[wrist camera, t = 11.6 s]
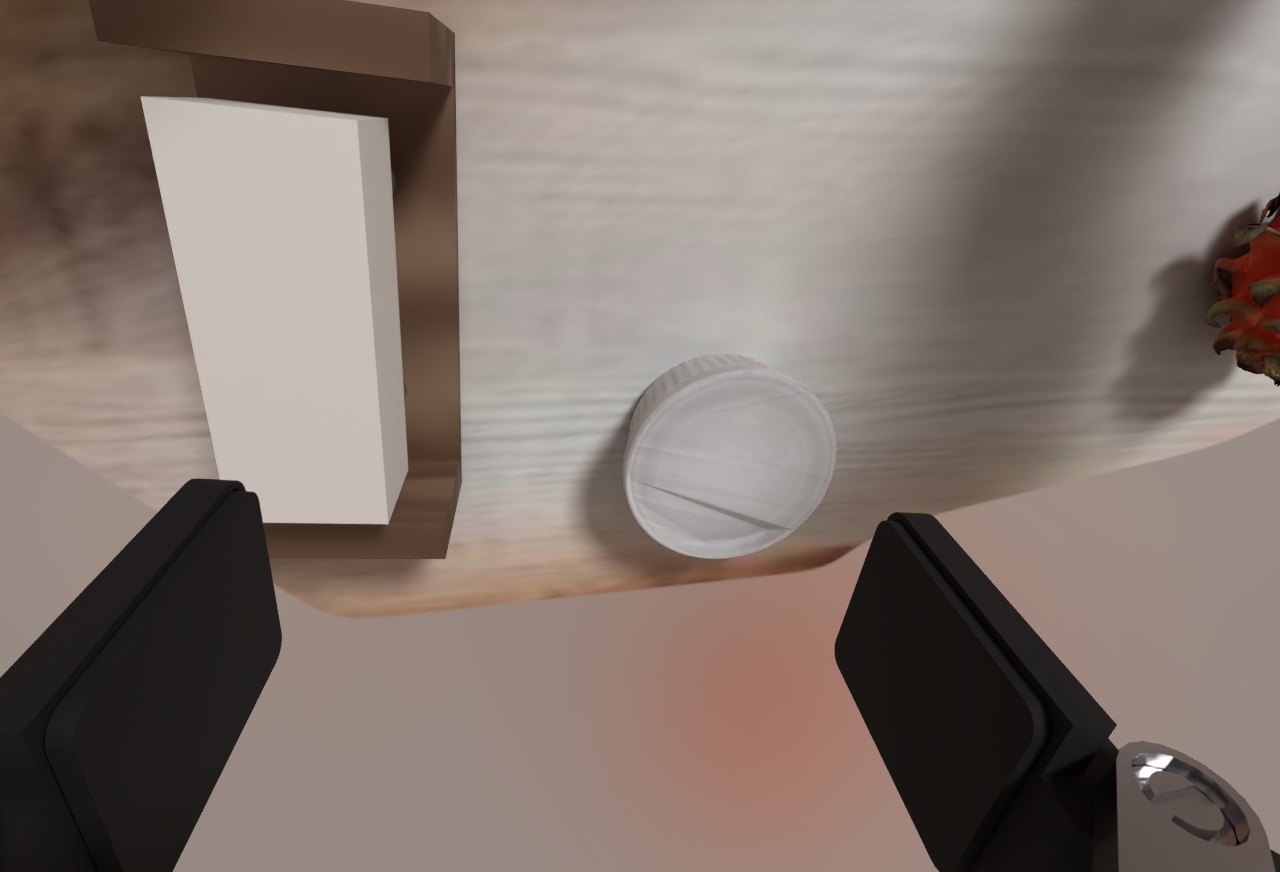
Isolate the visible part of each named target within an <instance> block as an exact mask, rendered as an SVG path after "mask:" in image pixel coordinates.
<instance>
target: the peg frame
mask: <svg viewBox="0 0 1280 872" xmlns="http://www.w3.org/2000/svg"><path fill="white" fill-rule="evenodd" d="M89 2H90V7H91V11H92V16H93V20H94V25H95V29H96V33H97V38H98V41H103V42H110V43H117V44H124V45H131V46H138V47H145V48H152V49H159V50H166V51H173V52H180V53H187V54H191V60H192V66H193V72H194V78H195V83H196V89H197V95H198V98H217V99H226V100H234V101H243V102H252V103H261V104H270V105H279V106H287V107H296V108H305V109H314V110H323V111H331V112H340V113H349V114H358V115H367V116H376V117H384V118H388V127H389V145H390V162H391V179H392V196H393V214H394V231H395V248H396V265H397V283H398V300H399V317H400V335H401V352H402V369H403V386H404V404H405V421H406V438H407V456H408V472H407V475H406V477H405V480H404V483H403V486H402V488H401V491H400V494H399V496H398V499H397V502H396V505H395V507H394V510H393V513H392V515H391V518H390V521H389V524H327V523H263V526H264V532H265V538H266V544H267V550H268V556H269V558H377V559H445V558H446V553H447V549H448V544H449V539H450V535H451V530H452V525H453V520H454V516H455V511H456V506H457V502H458V497H459V492H460V488H461V483H462V478H461V414H460V350H459V286H458V223H457V159H456V95H455V33H454V32H452V31H451V30H450V29H449V28H447V27H446V26H445V25H444V24H443V23H441V22H440V21H439V20H438V19H436V18H435V17H434V16H433V15H431V14H430V13H429V12H423V11H416V10H409V9H402V8H395V7H388V6H381V5H374V4H367V3H359V2H352V1H345V0H89Z"/></svg>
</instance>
